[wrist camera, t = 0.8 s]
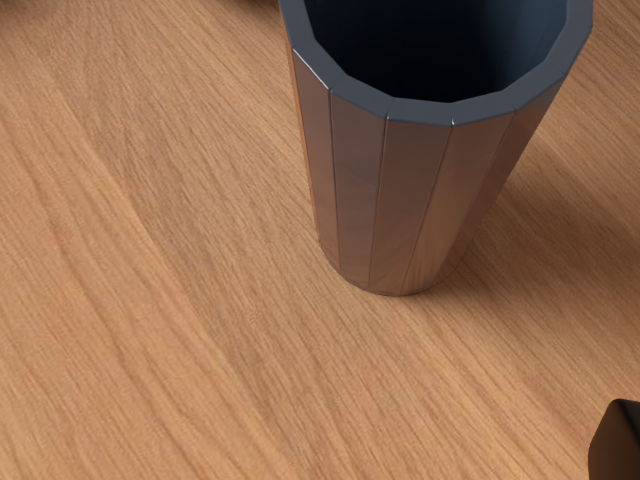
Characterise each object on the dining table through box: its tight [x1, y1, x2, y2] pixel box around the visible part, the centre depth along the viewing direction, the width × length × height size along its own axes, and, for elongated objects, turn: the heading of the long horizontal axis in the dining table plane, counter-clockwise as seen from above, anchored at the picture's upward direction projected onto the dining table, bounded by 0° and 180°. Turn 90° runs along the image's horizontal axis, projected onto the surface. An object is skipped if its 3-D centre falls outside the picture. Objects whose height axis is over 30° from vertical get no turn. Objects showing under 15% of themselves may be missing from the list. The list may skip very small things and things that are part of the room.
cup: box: [278, 0, 593, 296], centre depth 18 cm, size 6×6×13 cm
